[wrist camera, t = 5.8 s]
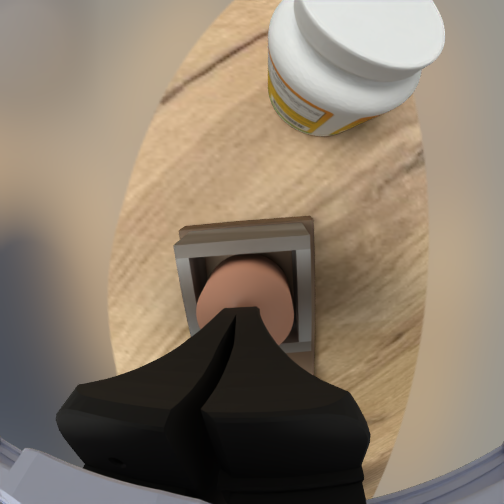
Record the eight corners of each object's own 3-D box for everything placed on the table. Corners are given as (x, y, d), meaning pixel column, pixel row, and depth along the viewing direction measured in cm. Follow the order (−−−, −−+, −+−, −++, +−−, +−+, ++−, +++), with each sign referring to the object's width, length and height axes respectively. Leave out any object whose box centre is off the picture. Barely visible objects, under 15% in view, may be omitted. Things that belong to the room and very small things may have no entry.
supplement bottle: (361, 57, 13) (445, -28, 3) (362, 142, 14) (476, 121, 5) (268, 46, 13) (269, -72, 3) (265, 133, 14) (264, 76, 5)
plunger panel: (309, 417, 20) (314, 455, 16) (223, 421, 20) (216, 458, 17) (309, 215, 15) (323, 231, 12) (184, 226, 16) (160, 244, 12)
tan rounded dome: (291, 325, 14) (294, 353, 12) (213, 329, 14) (204, 357, 12) (287, 250, 13) (292, 267, 11) (201, 256, 13) (188, 274, 11)
